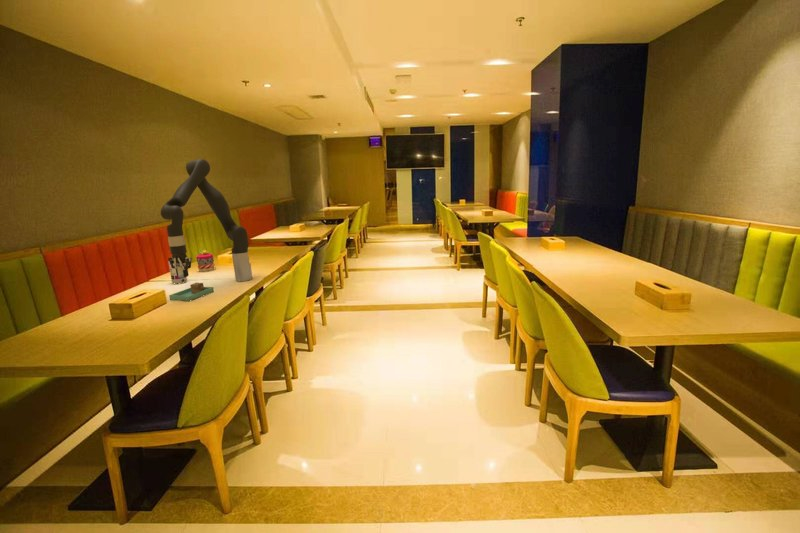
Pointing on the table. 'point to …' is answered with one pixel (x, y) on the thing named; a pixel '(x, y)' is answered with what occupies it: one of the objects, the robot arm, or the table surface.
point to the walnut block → (197, 288)
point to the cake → (205, 261)
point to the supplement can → (174, 276)
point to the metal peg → (180, 271)
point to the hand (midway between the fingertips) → (182, 276)
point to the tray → (190, 294)
